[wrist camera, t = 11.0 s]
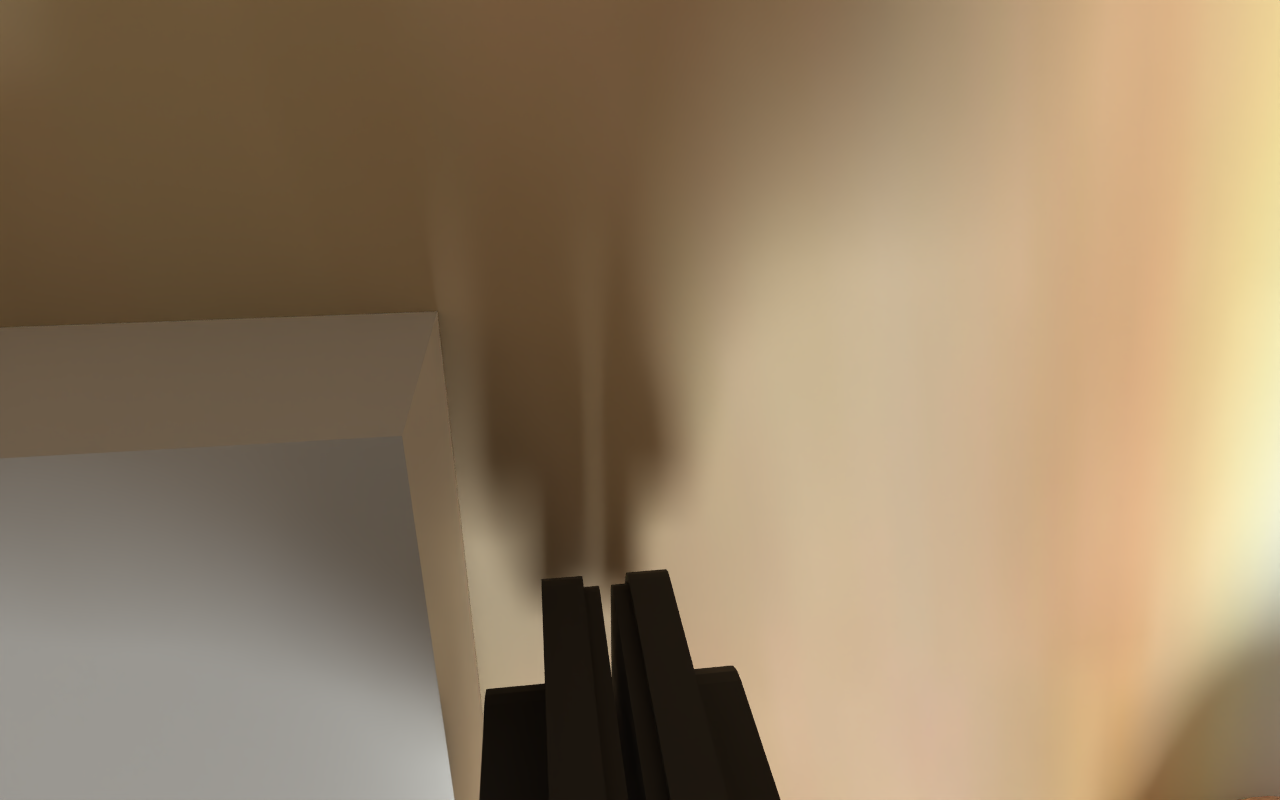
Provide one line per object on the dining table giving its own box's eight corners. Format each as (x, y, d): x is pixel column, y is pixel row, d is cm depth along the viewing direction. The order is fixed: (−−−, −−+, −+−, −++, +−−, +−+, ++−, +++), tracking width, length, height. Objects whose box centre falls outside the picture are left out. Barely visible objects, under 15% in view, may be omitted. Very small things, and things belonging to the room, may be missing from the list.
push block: (-495, 335, 9) (-1077, 517, 5) (440, 301, 10) (402, 435, 7) (-114, 897, 13) (-314, 1176, 10) (498, 825, 14) (491, 1052, 11)
